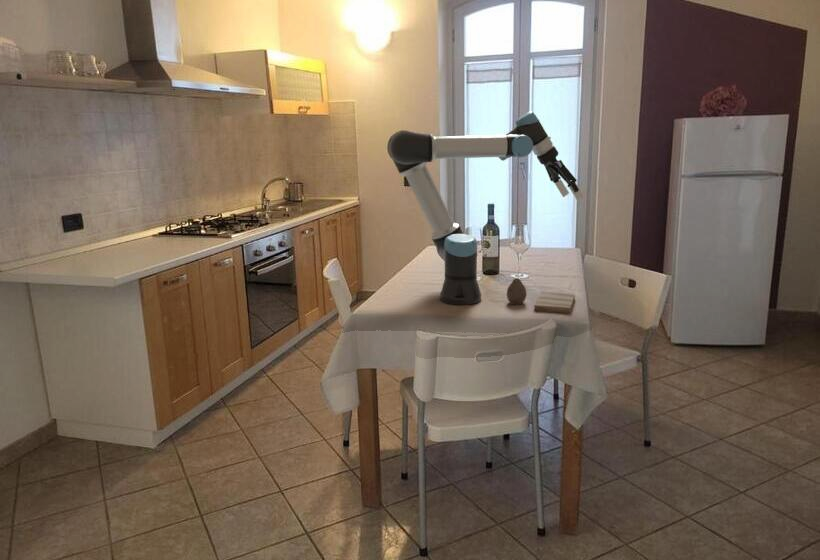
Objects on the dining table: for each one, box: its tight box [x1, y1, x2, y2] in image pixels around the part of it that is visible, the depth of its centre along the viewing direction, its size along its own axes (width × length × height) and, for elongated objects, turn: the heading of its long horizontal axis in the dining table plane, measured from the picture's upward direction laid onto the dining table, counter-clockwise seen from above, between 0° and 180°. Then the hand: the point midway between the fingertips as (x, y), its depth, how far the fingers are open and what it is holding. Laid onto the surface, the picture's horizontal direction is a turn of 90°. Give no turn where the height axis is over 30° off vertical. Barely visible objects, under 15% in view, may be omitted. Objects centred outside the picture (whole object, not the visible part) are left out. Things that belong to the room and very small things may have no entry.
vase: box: [506, 278, 527, 305], centre depth 220 cm, size 7×7×9 cm
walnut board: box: [533, 291, 576, 314], centre depth 218 cm, size 18×12×2 cm, turn 161°
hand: (573, 196), depth 236 cm, fingers open, 13 cm apart
